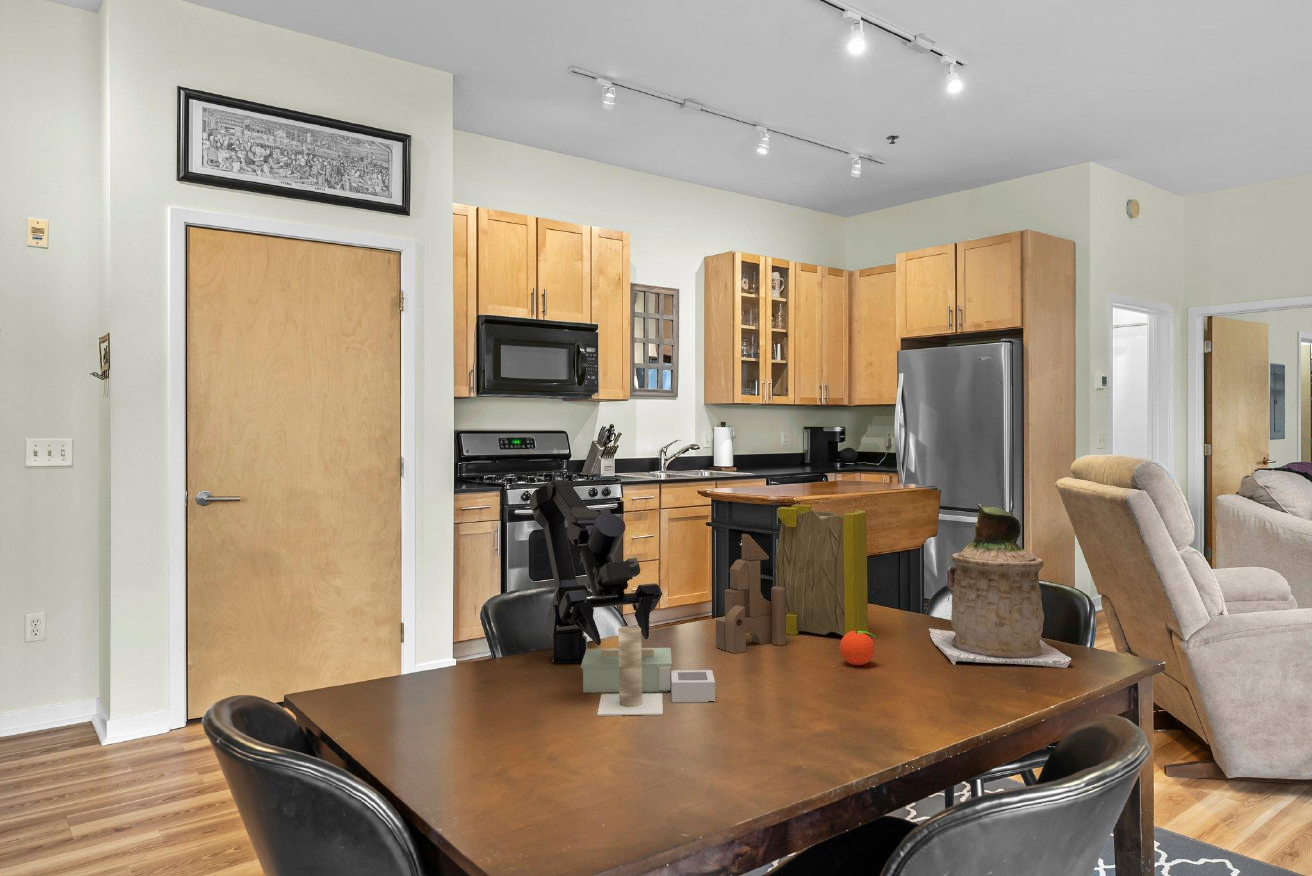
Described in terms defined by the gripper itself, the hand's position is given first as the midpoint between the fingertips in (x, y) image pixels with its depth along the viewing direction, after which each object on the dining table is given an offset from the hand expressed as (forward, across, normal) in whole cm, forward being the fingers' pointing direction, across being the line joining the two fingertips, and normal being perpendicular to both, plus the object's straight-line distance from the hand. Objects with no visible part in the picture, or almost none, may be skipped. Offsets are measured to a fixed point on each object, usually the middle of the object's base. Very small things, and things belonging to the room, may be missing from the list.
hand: (623, 641), depth 146 cm
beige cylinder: (+9, 0, +5) cm, 11 cm away
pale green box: (+4, +7, +11) cm, 13 cm away
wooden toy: (-8, +40, +23) cm, 47 cm away
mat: (+10, 0, +5) cm, 11 cm away
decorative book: (-10, +62, +26) cm, 68 cm away
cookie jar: (+12, +84, +4) cm, 85 cm away
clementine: (+8, +52, +7) cm, 53 cm away
